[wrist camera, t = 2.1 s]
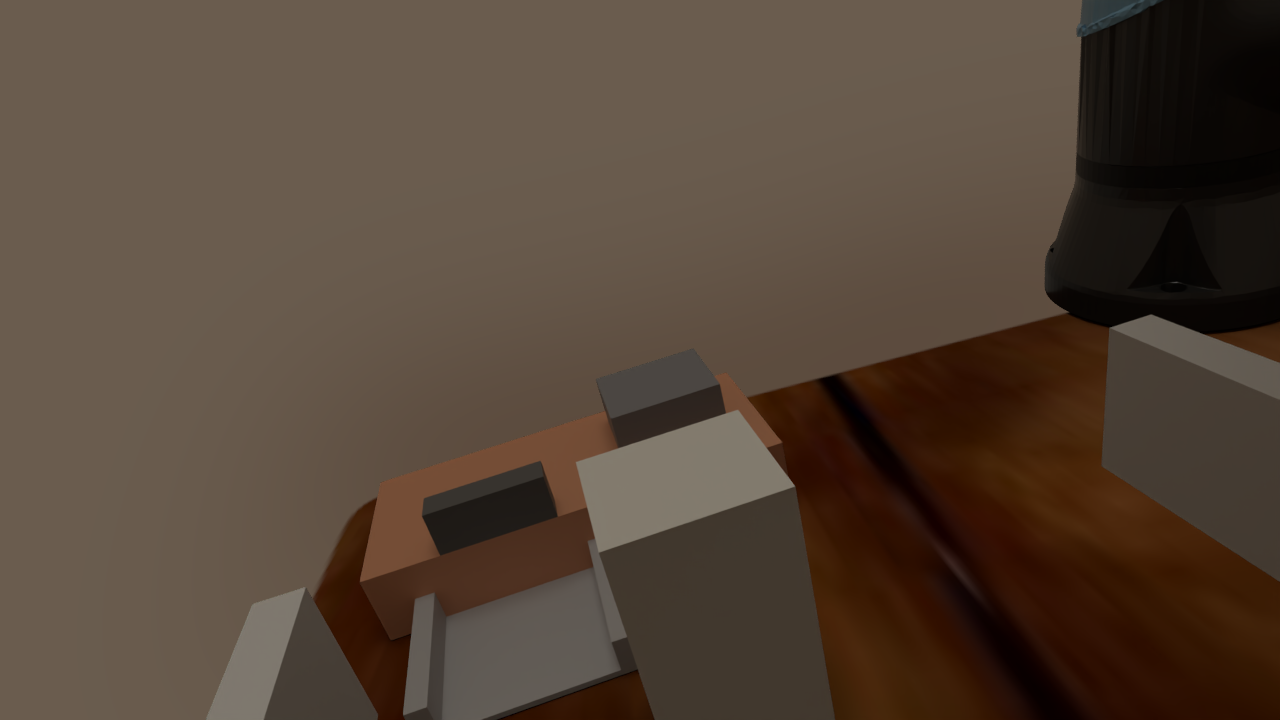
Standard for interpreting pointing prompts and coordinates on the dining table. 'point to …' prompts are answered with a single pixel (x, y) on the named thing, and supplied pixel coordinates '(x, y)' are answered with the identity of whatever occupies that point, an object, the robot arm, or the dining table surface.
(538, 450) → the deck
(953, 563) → the dining table surface
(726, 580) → the tall grey brick
